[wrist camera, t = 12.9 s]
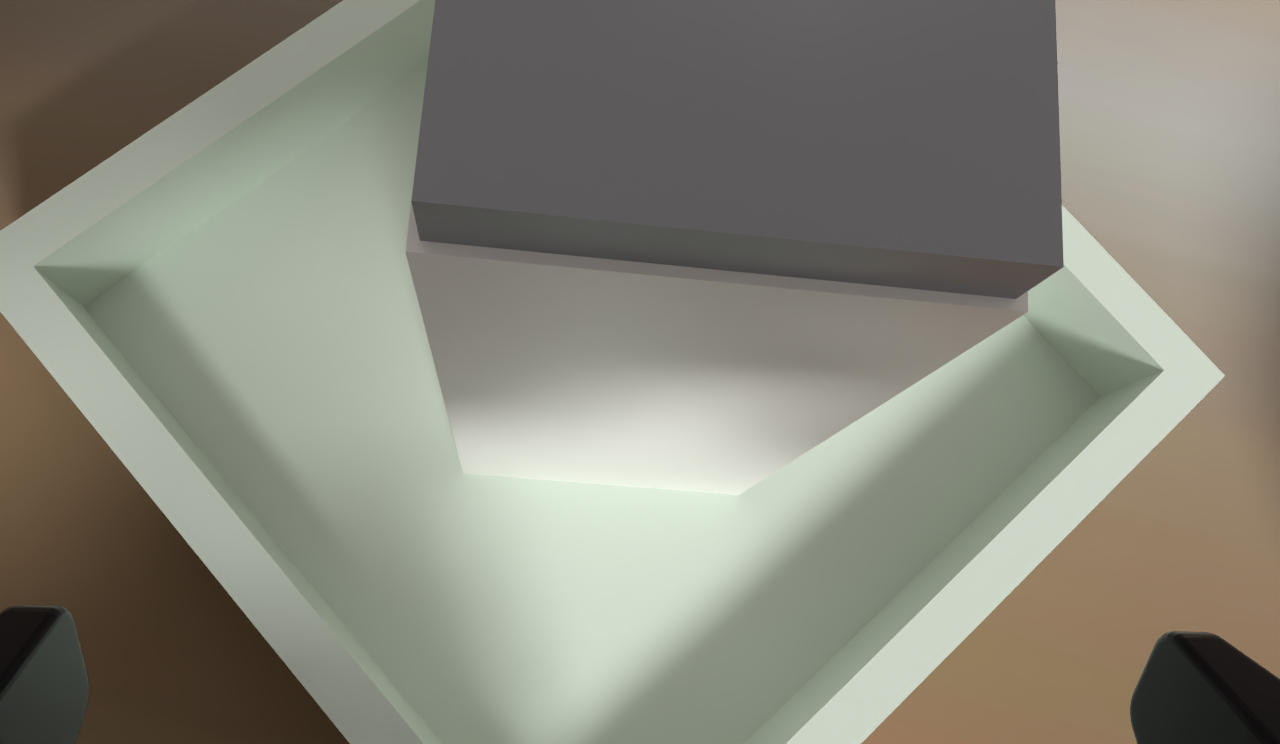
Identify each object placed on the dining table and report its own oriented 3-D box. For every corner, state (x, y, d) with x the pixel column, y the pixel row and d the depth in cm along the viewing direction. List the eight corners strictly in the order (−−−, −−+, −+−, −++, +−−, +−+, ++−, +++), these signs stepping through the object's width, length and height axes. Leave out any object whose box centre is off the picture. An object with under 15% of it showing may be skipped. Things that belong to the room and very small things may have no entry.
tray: (569, 972, 19) (579, 1027, 16) (31, 310, 20) (-42, 259, 18) (1138, 407, 22) (1225, 375, 20) (644, -118, 24) (662, -215, 21)
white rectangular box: (738, 495, 20) (1076, 281, 8) (462, 473, 20) (395, 213, 8) (749, 238, 22) (1056, -277, 9) (489, 211, 21) (466, -367, 9)
